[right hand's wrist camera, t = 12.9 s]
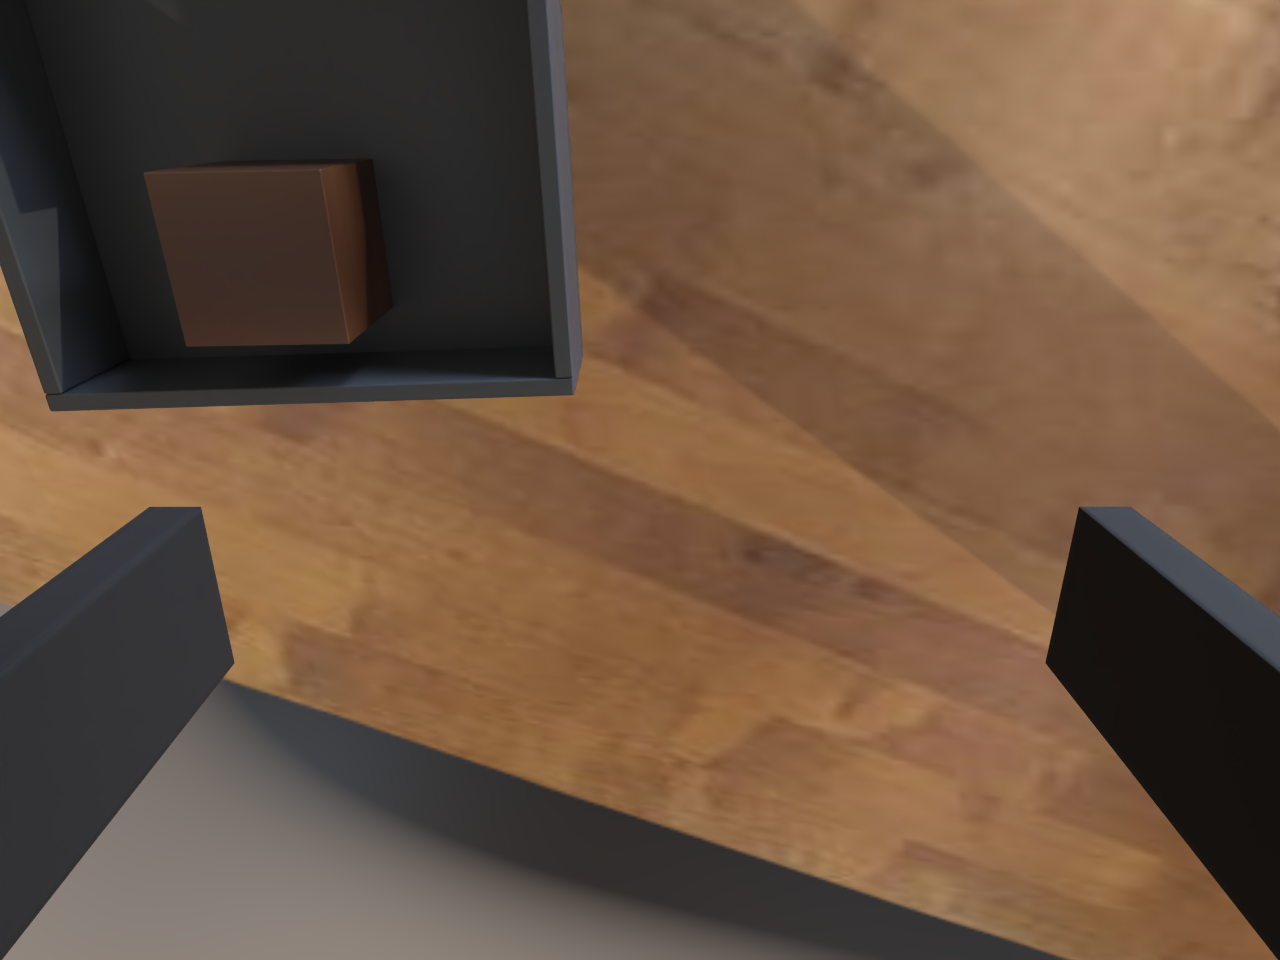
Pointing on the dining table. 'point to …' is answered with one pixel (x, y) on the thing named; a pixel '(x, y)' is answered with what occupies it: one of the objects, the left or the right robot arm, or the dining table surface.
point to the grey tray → (291, 130)
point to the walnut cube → (272, 250)
